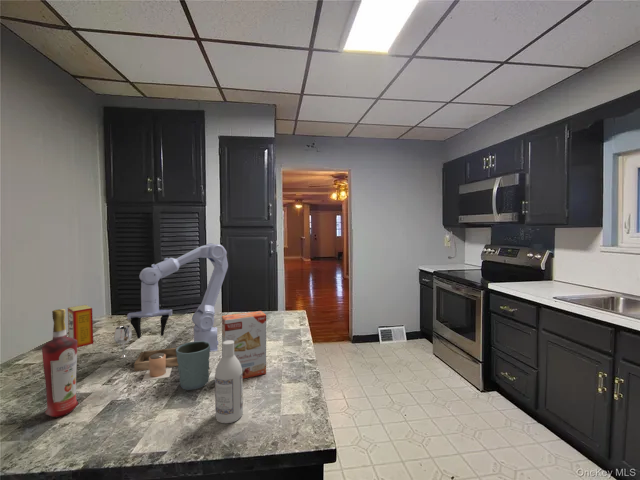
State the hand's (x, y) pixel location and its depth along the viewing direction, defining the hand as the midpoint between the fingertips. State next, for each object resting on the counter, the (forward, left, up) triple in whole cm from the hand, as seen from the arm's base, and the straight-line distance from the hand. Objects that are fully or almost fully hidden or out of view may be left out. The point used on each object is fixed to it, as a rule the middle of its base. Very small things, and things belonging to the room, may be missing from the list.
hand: (150, 336), depth 114 cm
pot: (-4, +12, -9) cm, 16 cm away
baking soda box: (+33, -32, -10) cm, 47 cm away
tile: (-4, +12, -10) cm, 16 cm away
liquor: (+17, +27, -10) cm, 33 cm away
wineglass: (+11, -8, -10) cm, 17 cm away
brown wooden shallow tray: (-4, +2, -10) cm, 11 cm away
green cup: (-16, +22, -10) cm, 29 cm away
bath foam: (-26, +44, -10) cm, 52 cm away
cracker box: (-32, +22, -10) cm, 40 cm away
